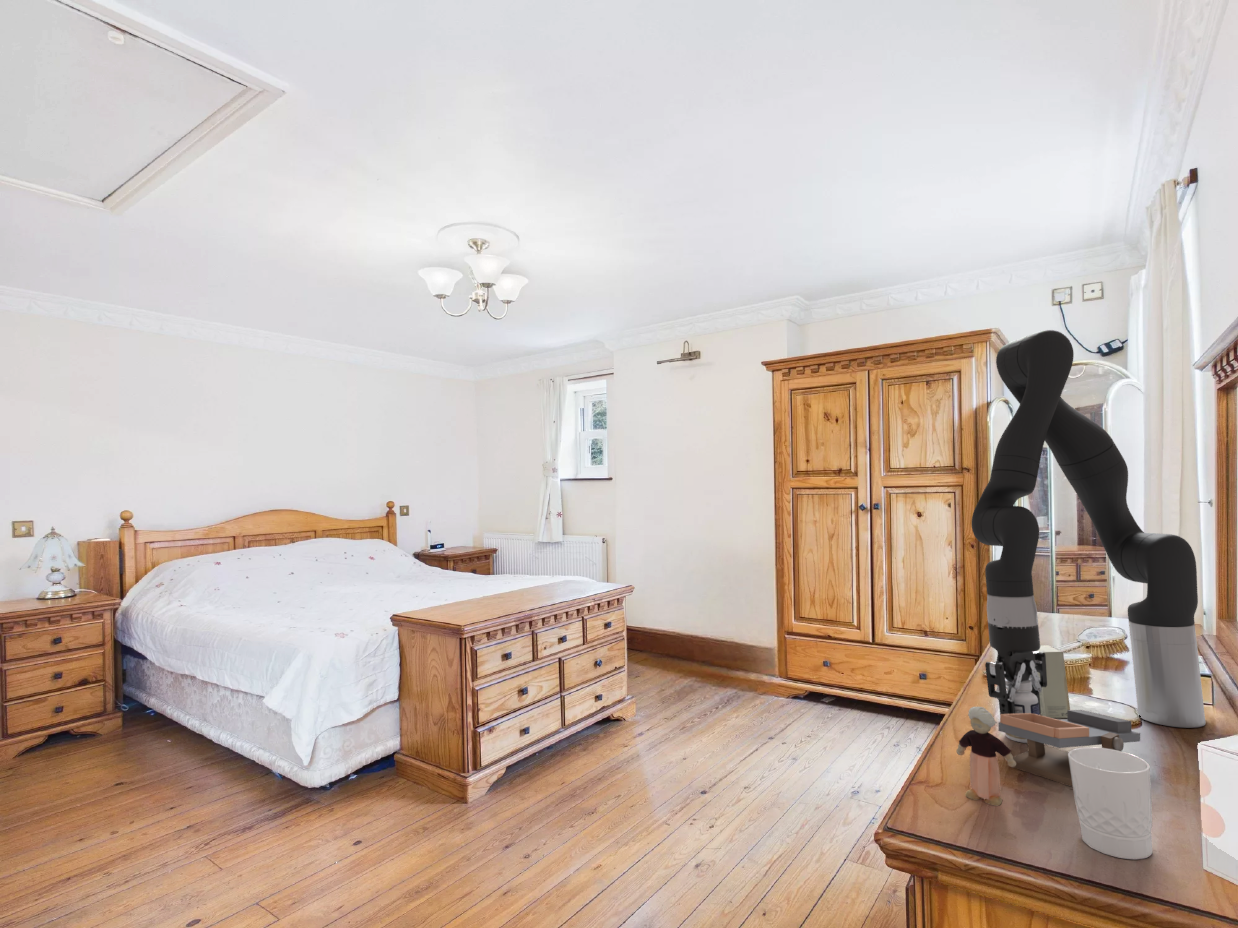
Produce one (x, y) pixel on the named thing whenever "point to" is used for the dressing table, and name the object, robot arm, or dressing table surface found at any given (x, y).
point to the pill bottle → (1024, 704)
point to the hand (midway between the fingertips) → (1021, 717)
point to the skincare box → (1054, 685)
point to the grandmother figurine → (984, 757)
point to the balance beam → (1067, 728)
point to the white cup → (1113, 801)
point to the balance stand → (1056, 759)
